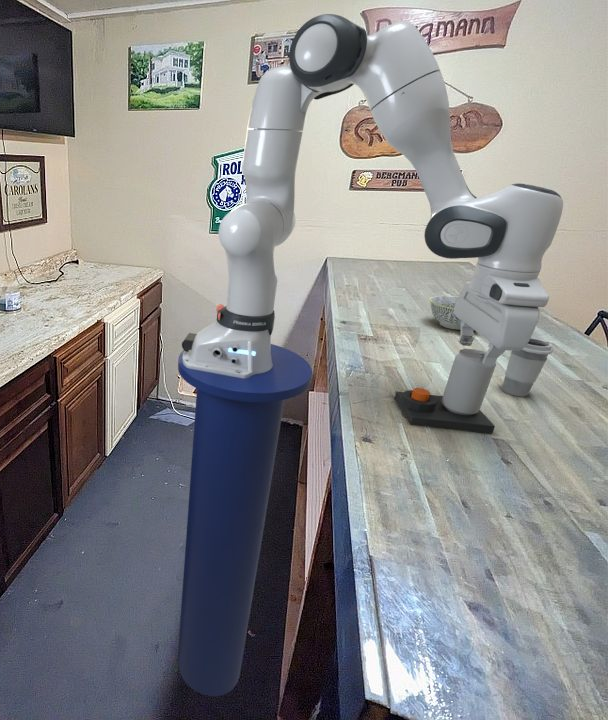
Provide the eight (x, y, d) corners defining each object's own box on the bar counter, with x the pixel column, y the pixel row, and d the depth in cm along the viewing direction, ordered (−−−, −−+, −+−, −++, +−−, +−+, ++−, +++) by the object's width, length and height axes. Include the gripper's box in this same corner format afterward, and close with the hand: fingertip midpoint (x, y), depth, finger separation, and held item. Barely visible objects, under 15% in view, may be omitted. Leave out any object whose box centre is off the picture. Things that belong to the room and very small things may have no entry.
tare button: (413, 401, 91) (415, 393, 90) (408, 394, 94) (411, 386, 93) (430, 403, 91) (432, 395, 90) (425, 396, 93) (427, 388, 92)
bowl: (480, 322, 144) (487, 299, 141) (489, 338, 131) (497, 313, 128) (421, 315, 151) (427, 293, 148) (424, 329, 138) (431, 306, 135)
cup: (541, 400, 98) (563, 349, 93) (506, 397, 99) (526, 346, 94) (521, 385, 104) (541, 336, 99) (489, 383, 105) (507, 334, 101)
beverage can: (479, 420, 87) (501, 363, 82) (440, 411, 90) (458, 356, 85) (476, 406, 92) (496, 351, 87) (439, 398, 95) (456, 345, 90)
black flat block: (408, 424, 89) (412, 408, 88) (392, 397, 99) (395, 383, 98) (492, 433, 86) (498, 417, 85) (467, 405, 96) (472, 390, 95)
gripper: (457, 268, 91) (436, 332, 96) (510, 297, 72) (480, 374, 78) (493, 270, 89) (469, 336, 95) (556, 300, 71) (522, 379, 77)
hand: (474, 353), depth 87 cm, fingers open, 8 cm apart
